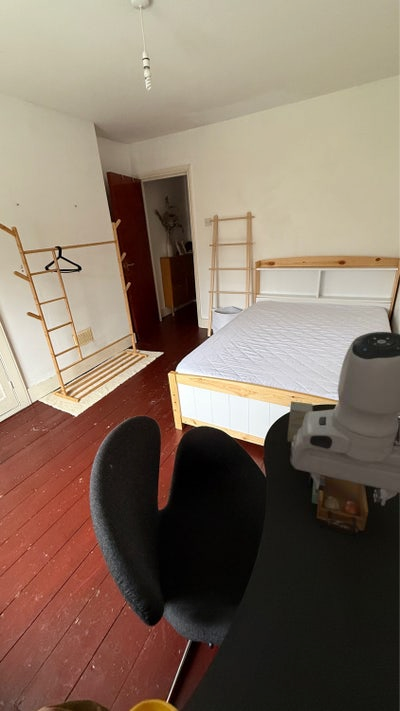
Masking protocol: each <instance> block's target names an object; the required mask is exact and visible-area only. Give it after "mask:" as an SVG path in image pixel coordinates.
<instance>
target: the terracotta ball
mask: <svg viewBox="0 0 400 711" xmlns="http://www.w3.org/2000/svg"><path fill="white" fill-rule="evenodd" d="M342 511H343V513H347V514H351V515H355V516H359V513H360V510H359V507H358V506H357V504H355V503H354V502H352V501H347V502H345V503H344V504H343V506H342Z"/></svg>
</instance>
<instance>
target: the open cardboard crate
mask: <svg viewBox="0 0 400 711" xmlns="http://www.w3.org/2000/svg"><path fill="white" fill-rule="evenodd" d="M320 477H324V478H325V488H324V491H322V490H318V501H317V504H316V505H317V506H316V519H319V520H320V519H322V520H326V524H327V525H328V526H329V527H333V528H337V529H340V530H344V531H348V532H351V533H352V534H356V535H357V534H359V533H360V531H364V530H365V526H366V523H367V519H368V514H369V507H368V506H369V505H368V500H367V492H366V489H365V485H363V484H358V483H354V482H350V481H345V480H341V479H336V478H332V477H328V476H323V475H320ZM327 496H331V497H334V498H335V499H336V500H337V501H338V503H339V509H338V511H336V510H332V509H328V508H324V507H323V505H322V503H323V499H324V498H325V497H327ZM347 501H352V502H354V503H355V504H357V506H358V507H359V510H360V513H359V516H355V515H351V514H347V513H343V511H342V506H343V504H344V503H345V502H347Z"/></svg>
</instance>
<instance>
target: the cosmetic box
mask: <svg viewBox="0 0 400 711" xmlns="http://www.w3.org/2000/svg"><path fill="white" fill-rule="evenodd" d="M313 409H314V404H312V403H307V402H300V401H299V402H298V401H292V400H291V401H290V409H289V418H288V419H289V420H288V428H287V439H286V441H287V442H288V443H292V442H293V437H294V436H295V435H296V434H297V433H298V431H299V429H300V428H301V427H302V426H303V421H304V417H305V415H306V413H308V412H314V410H313Z"/></svg>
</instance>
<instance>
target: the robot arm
mask: <svg viewBox="0 0 400 711" xmlns="http://www.w3.org/2000/svg"><path fill="white" fill-rule="evenodd" d="M336 389H337V396H338V397H337V398H338V401H337V403H336V405H335V407H334V408H333V409H326V410H325V409H324V410H316V411H315V410H313V412H308V413H306V415H305V417H304V421H303V426H302V427H301V428H300V429H299V431H298V433H297V435H296V439H295V442H294V447H293V453H292V460H291V461H290V464H291V466H292V467H293V468H294V470H296V471H302V472H307V473H309V472H310V473H311V479H312V481H313V480H314V481H315V483H316V488H315V489H317V490H322V491H324V488H325V478H324V477H320V475H323V476H328V477H332V478H336V479H341V480H345V481H350V482H354V483H358V484H363V485H366V487H372V488H375V489H374V491H373V494H372V499H373V504H376V505H380V506H383V507H384V506H385V505H386V501H387V500H390V499H391V498H393V497H396V496H397V494H398V493H399V494H400V438H397V434H398V431H399V427H400V419H399V417H400V416H399V415H400V334H399V333H395V332H391V331H373V332H367V333H364V334H362V335H359V336H357V337H356V338H354V340H353V341H352V342H351V343H350V345H349V346H348V348H347V350H346V352H345V355H344V357H343V361H342V365H341V368H340V372H339V376H338V384H337V388H336Z"/></svg>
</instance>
